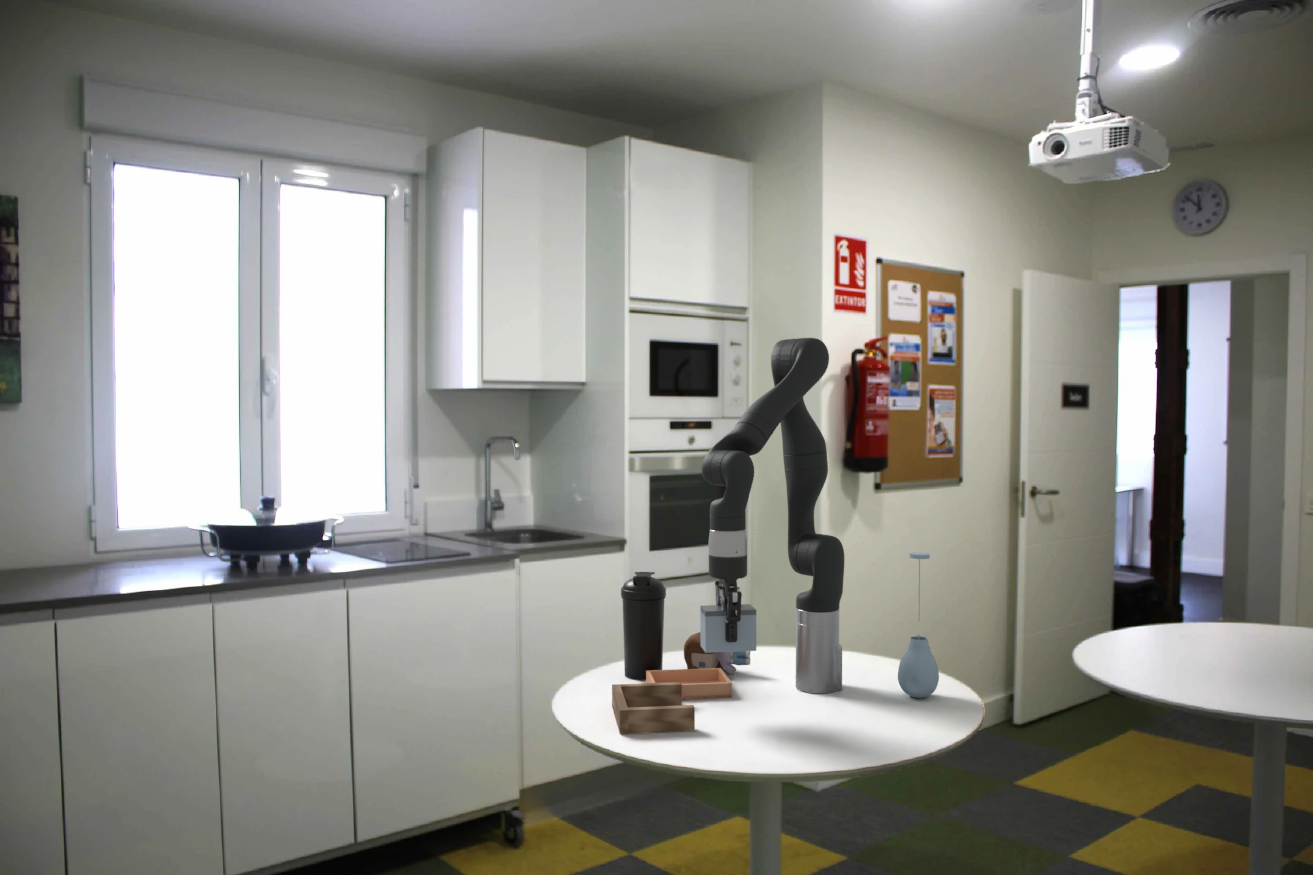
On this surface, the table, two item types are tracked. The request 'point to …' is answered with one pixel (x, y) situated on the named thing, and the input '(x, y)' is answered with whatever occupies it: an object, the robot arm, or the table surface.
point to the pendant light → (918, 660)
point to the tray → (695, 682)
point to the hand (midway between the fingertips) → (728, 637)
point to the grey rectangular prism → (715, 629)
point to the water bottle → (643, 624)
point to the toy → (712, 656)
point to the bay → (651, 708)
